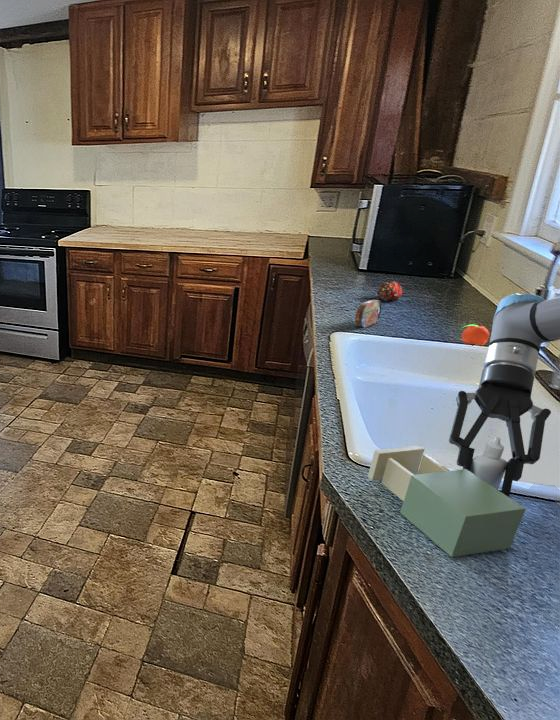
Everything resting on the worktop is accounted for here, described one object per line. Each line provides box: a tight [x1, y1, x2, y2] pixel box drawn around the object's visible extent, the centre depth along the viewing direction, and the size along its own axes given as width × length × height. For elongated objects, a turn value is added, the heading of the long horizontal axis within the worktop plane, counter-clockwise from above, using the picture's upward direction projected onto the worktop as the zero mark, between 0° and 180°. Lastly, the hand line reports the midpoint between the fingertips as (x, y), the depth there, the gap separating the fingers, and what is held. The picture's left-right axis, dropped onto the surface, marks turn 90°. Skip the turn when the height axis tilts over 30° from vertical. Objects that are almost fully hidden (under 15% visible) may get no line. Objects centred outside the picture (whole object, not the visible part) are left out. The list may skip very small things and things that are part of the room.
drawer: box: [367, 445, 451, 502], centre depth 95 cm, size 11×10×6 cm
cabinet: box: [399, 468, 527, 558], centre depth 85 cm, size 11×11×8 cm
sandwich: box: [354, 299, 382, 329], centre depth 184 cm, size 15×3×8 cm, turn 129°
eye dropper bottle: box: [470, 436, 508, 490], centre depth 93 cm, size 4×6×12 cm
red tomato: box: [459, 324, 491, 346], centre depth 166 cm, size 8×7×7 cm
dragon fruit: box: [376, 281, 403, 302], centre depth 214 cm, size 8×8×12 cm
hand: (483, 490), depth 91 cm, fingers closed on eye dropper bottle, 5 cm apart
